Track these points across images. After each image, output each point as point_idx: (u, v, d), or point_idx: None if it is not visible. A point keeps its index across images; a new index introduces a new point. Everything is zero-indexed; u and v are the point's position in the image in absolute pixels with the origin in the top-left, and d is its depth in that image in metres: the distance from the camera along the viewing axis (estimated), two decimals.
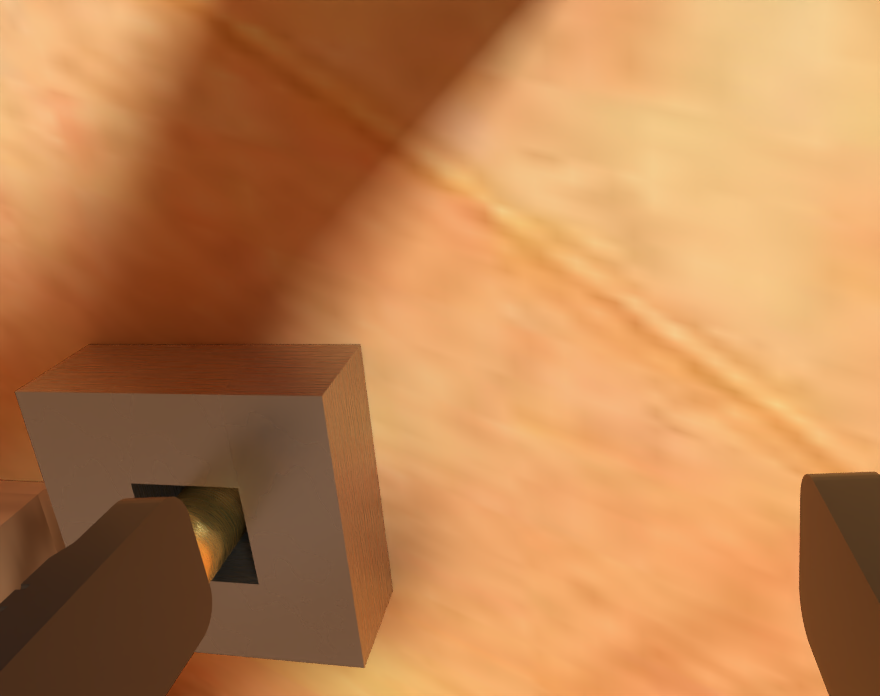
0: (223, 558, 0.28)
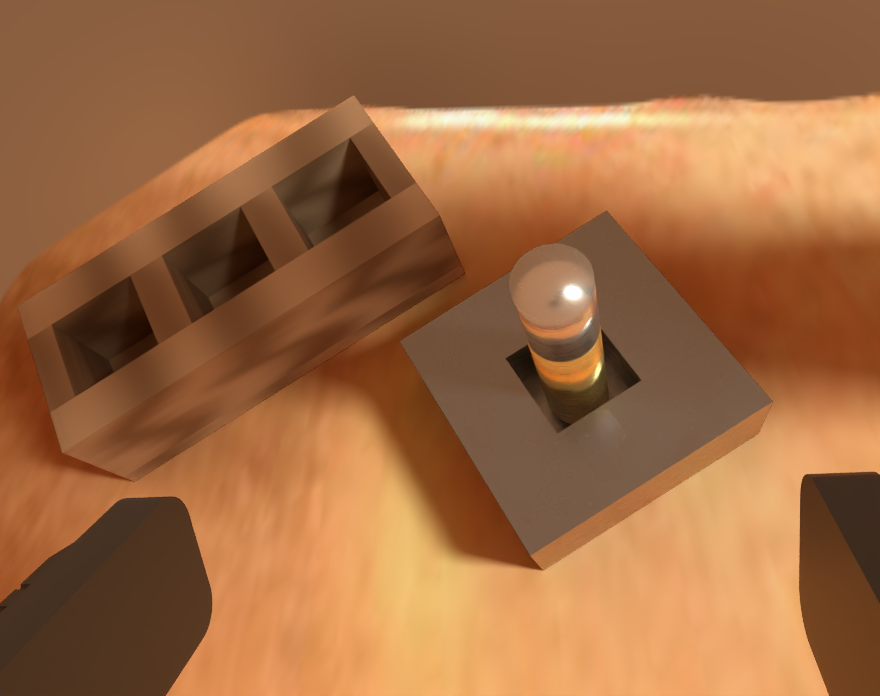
0: (579, 393, 0.33)
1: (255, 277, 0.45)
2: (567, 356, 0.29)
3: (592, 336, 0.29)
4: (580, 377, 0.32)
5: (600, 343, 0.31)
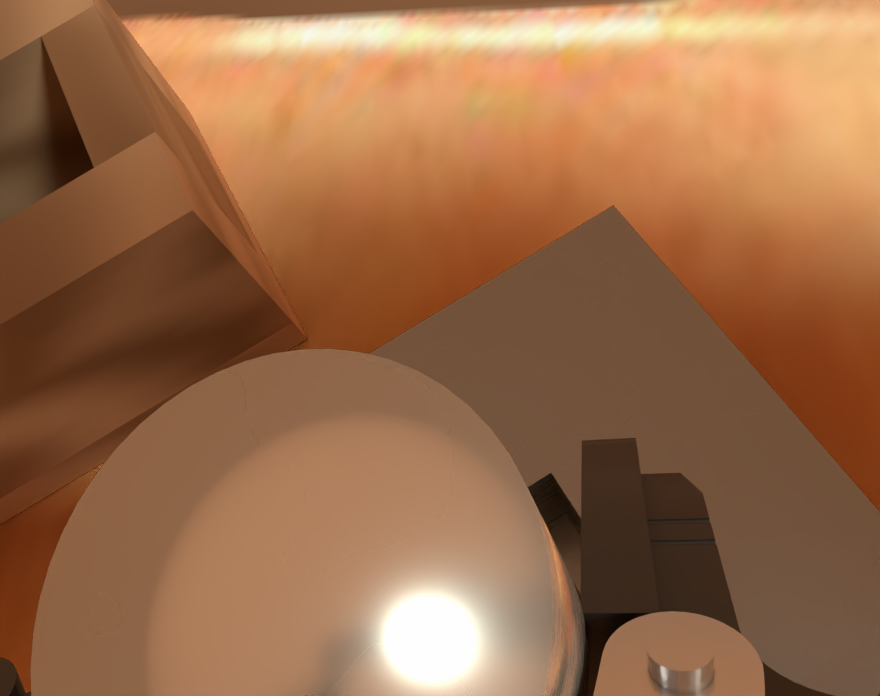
0: None
1: None
2: None
3: None
4: None
5: None
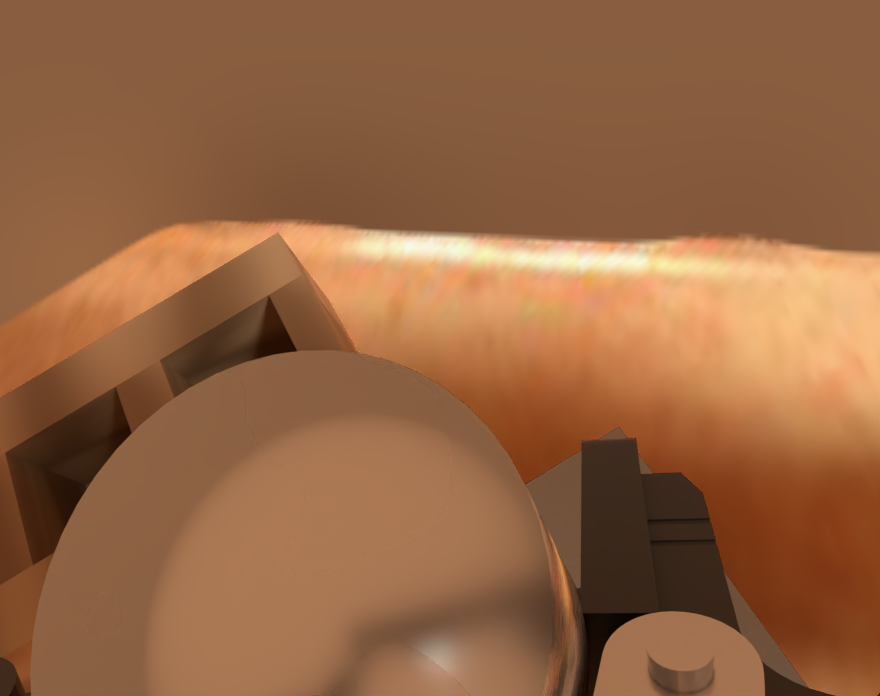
0: None
1: None
2: None
3: None
4: None
5: None
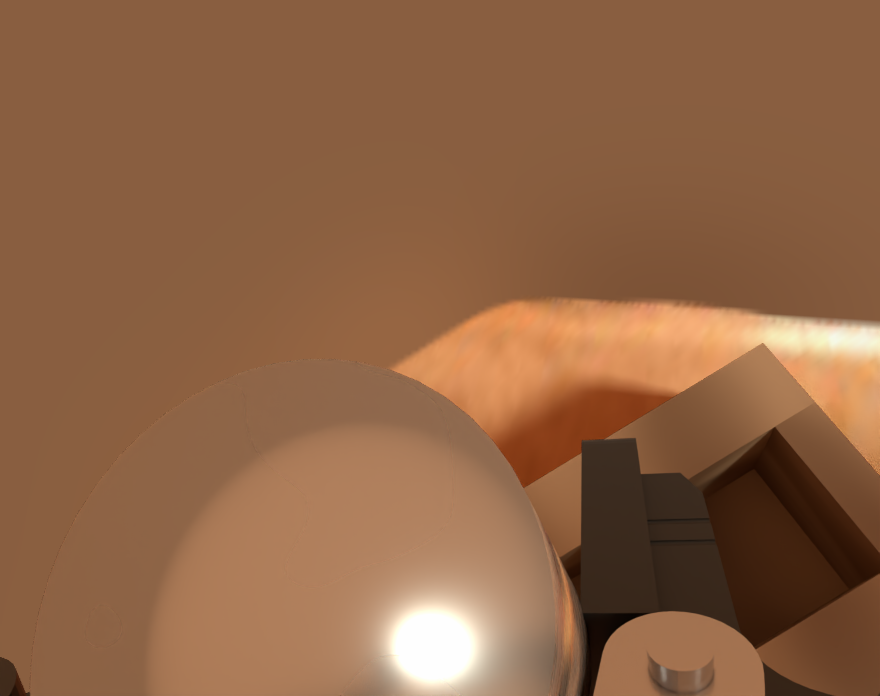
0: None
1: None
2: None
3: None
4: None
5: None
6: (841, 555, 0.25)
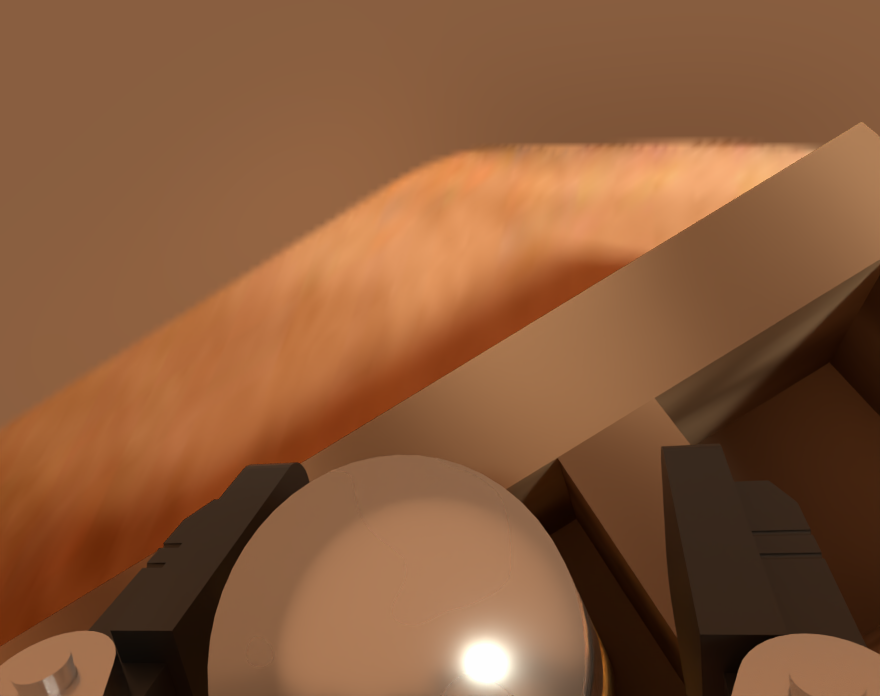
0: None
1: None
2: None
3: None
4: None
5: None
6: None
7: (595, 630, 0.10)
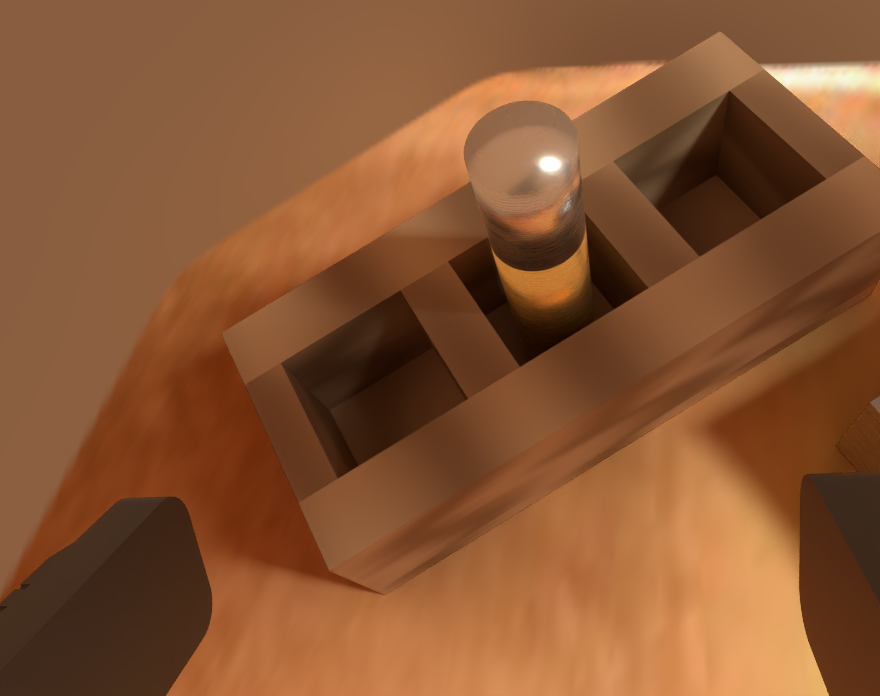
0: (559, 324, 0.26)
1: None
2: (541, 261, 0.23)
3: (575, 234, 0.22)
4: (559, 298, 0.25)
5: (586, 252, 0.24)
6: None
7: None
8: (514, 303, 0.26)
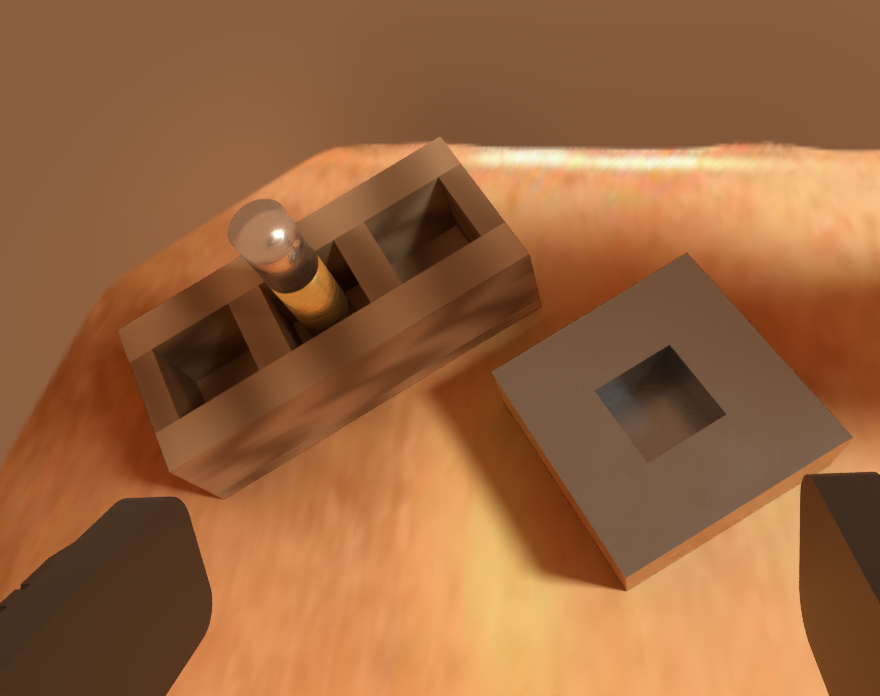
0: (321, 324, 0.42)
1: None
2: (287, 288, 0.38)
3: (305, 272, 0.38)
4: (312, 309, 0.41)
5: (323, 281, 0.40)
6: None
7: (321, 262, 0.40)
8: None
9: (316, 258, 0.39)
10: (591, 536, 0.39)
